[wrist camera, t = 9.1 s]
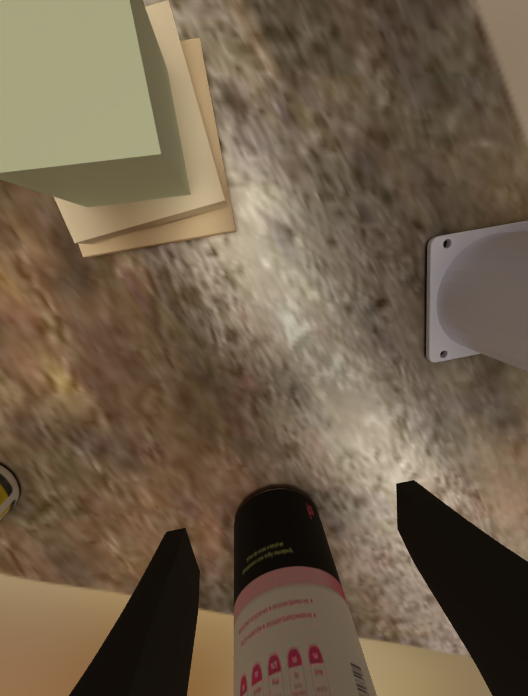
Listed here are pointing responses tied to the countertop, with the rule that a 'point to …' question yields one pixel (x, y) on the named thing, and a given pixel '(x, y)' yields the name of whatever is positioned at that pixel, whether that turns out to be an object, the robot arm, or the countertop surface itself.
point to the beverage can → (291, 605)
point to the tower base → (220, 218)
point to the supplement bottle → (7, 492)
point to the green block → (87, 103)
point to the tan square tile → (198, 158)
